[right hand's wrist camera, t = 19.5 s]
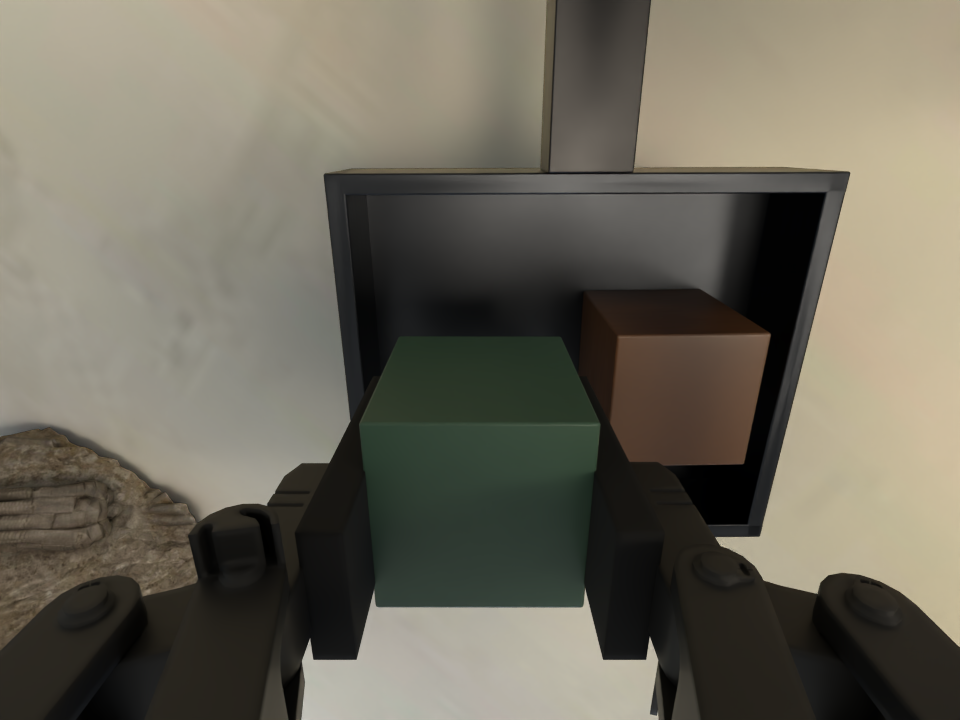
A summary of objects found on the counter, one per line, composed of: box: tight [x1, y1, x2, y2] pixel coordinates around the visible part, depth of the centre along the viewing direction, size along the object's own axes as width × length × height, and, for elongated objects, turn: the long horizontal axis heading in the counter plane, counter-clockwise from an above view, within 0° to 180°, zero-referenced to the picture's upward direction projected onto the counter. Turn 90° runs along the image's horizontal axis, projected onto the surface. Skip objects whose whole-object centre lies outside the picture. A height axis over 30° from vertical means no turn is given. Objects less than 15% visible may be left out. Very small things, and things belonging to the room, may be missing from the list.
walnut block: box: [578, 289, 771, 465], centre depth 18 cm, size 4×4×5 cm
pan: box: [324, 0, 850, 537], centre depth 16 cm, size 15×31×4 cm, turn 0°
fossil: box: [0, 427, 198, 650], centre depth 32 cm, size 22×10×15 cm
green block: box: [359, 336, 600, 607], centre depth 13 cm, size 4×4×5 cm
